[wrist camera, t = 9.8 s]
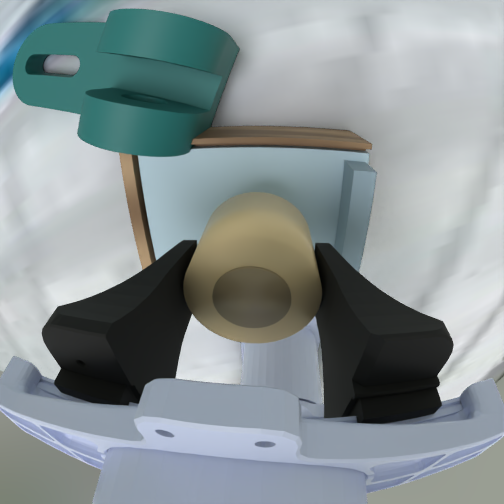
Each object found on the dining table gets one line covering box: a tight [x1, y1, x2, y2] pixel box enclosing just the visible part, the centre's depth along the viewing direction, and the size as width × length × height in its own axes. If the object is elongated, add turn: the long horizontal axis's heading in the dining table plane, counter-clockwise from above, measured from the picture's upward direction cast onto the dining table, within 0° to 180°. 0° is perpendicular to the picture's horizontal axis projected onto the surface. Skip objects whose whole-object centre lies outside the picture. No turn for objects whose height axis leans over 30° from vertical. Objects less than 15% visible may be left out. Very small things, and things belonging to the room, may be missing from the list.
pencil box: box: [119, 126, 372, 269], centre depth 18 cm, size 9×14×5 cm, turn 91°
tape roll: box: [183, 192, 322, 343], centre depth 12 cm, size 5×5×4 cm
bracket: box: [13, 9, 239, 157], centre depth 12 cm, size 18×7×8 cm, turn 70°
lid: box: [138, 145, 377, 272], centre depth 16 cm, size 8×13×3 cm, turn 91°
